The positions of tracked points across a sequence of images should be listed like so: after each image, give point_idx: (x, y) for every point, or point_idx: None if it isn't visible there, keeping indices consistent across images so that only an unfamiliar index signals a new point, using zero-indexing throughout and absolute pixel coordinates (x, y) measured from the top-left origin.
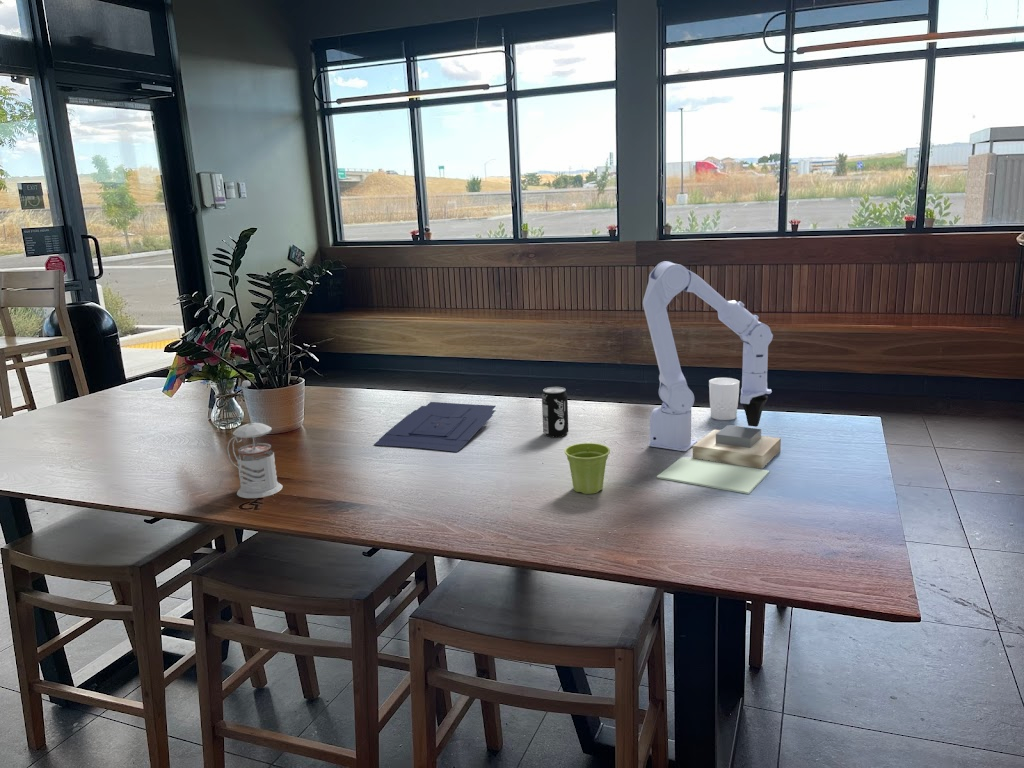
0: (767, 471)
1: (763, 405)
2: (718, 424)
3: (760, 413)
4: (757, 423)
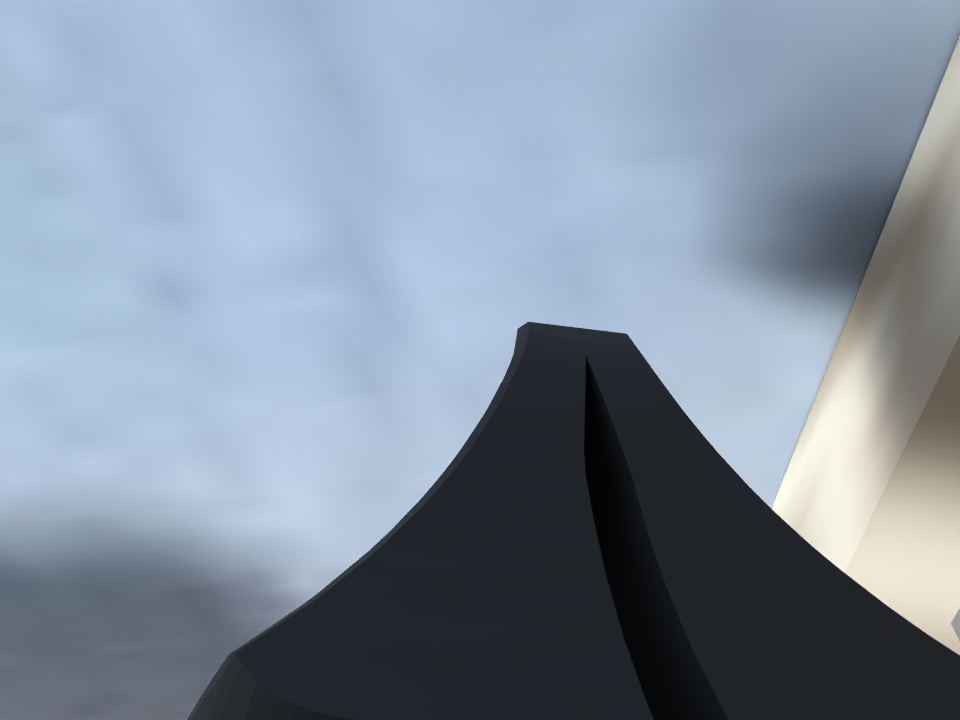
0: None
1: (500, 576)
2: (86, 667)
3: (584, 457)
4: (643, 357)
